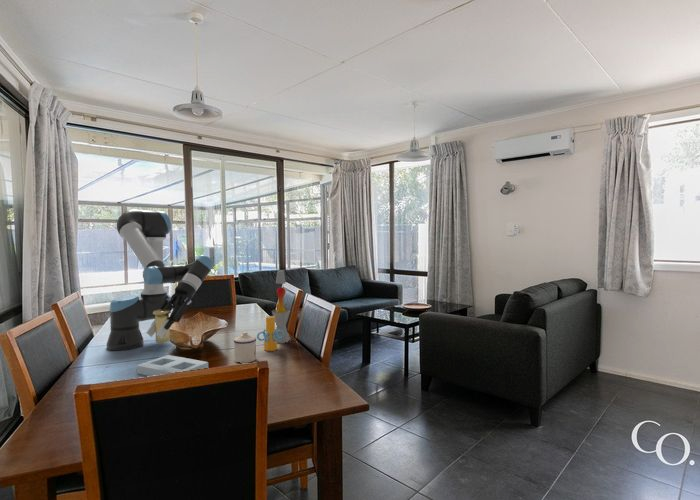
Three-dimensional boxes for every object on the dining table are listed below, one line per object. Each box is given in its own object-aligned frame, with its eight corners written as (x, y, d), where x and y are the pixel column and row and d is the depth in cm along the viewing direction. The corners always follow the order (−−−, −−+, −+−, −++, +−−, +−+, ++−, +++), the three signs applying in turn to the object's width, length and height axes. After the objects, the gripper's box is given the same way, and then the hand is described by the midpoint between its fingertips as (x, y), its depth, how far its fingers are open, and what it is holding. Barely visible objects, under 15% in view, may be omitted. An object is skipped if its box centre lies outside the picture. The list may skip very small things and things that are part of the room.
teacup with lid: (259, 360, 159) (259, 333, 158) (238, 365, 153) (238, 336, 153) (249, 353, 168) (248, 327, 168) (228, 357, 163) (228, 330, 163)
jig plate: (136, 373, 144) (136, 365, 144) (168, 362, 157) (168, 354, 157) (178, 382, 135) (178, 374, 135) (208, 369, 148) (208, 362, 148)
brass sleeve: (150, 342, 146) (149, 311, 146) (163, 338, 152) (163, 308, 152) (161, 344, 144) (160, 312, 143) (175, 340, 149) (174, 309, 149)
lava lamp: (293, 341, 188) (293, 270, 186) (276, 344, 183) (275, 271, 181) (285, 337, 195) (285, 269, 194) (269, 340, 190) (268, 270, 189)
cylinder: (276, 354, 167) (276, 320, 167) (254, 352, 170) (253, 319, 169) (286, 346, 179) (286, 314, 179) (265, 345, 182) (265, 313, 181)
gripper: (208, 293, 158) (176, 343, 143) (178, 291, 165) (144, 338, 151) (198, 282, 153) (164, 332, 138) (167, 280, 160) (131, 327, 146)
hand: (154, 335), depth 144 cm, fingers closed on brass sleeve, 5 cm apart
